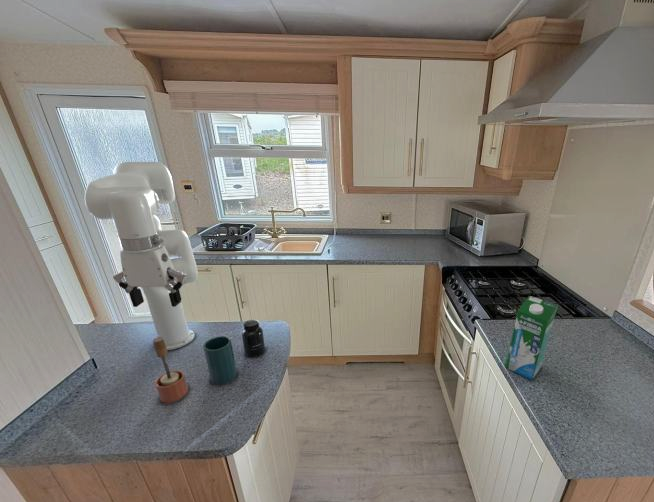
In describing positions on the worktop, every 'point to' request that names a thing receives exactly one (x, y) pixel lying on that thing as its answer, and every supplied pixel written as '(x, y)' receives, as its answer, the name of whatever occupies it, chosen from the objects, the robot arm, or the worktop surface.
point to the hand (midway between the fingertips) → (158, 304)
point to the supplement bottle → (253, 338)
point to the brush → (165, 362)
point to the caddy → (172, 389)
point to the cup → (220, 359)
